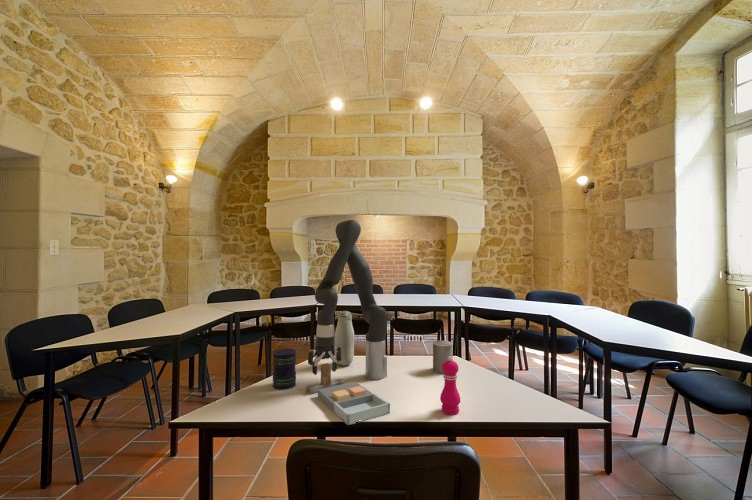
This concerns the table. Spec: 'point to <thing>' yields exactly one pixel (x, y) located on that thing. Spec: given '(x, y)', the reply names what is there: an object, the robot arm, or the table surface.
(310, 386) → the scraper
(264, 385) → the table surface
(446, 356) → the pillar candle
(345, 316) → the grey bottle
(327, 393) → the board
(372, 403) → the tray
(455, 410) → the pepper mill
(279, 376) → the storage jar
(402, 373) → the table surface
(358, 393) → the tile
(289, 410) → the table surface
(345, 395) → the tile
